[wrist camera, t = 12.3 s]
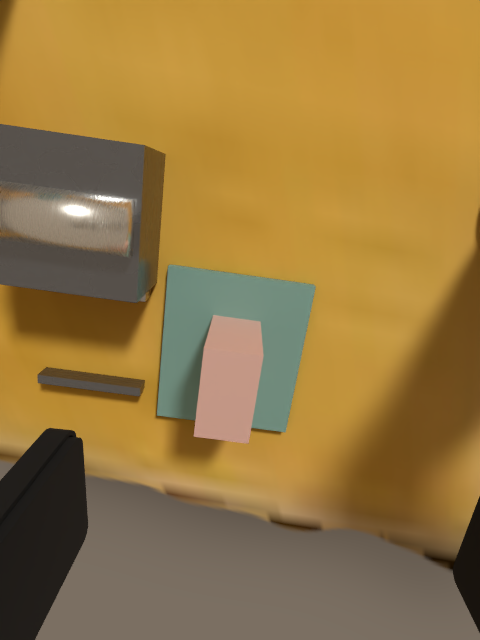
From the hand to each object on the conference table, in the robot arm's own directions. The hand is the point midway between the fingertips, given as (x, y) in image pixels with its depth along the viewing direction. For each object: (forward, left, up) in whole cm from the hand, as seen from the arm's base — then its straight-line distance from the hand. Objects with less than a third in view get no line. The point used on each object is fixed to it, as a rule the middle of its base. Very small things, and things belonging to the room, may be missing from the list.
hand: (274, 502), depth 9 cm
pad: (+1, +7, -24) cm, 25 cm away
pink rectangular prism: (+1, +7, -23) cm, 24 cm away
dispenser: (+13, +2, -24) cm, 27 cm away
